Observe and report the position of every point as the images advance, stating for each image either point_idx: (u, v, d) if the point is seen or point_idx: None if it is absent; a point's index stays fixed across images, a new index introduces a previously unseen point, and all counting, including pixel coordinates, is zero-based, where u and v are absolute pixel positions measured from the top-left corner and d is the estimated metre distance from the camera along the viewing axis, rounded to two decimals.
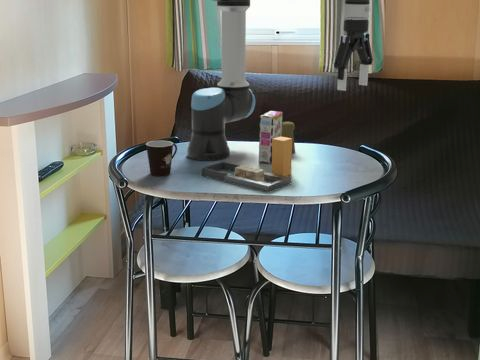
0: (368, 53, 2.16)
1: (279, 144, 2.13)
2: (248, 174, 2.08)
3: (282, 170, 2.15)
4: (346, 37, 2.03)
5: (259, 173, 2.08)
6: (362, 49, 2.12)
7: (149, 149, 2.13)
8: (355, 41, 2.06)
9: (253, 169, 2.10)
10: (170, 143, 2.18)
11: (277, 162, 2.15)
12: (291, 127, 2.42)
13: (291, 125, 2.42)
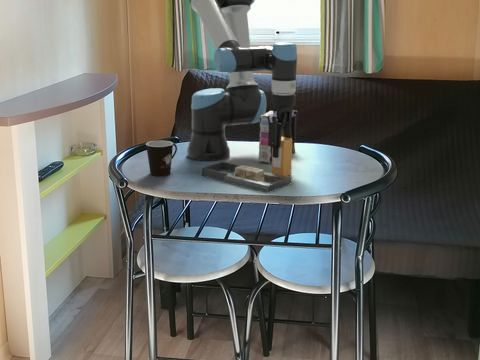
0: (293, 130, 2.17)
1: None
2: (248, 174, 2.08)
3: (282, 170, 2.15)
4: (272, 118, 2.07)
5: (259, 173, 2.08)
6: (288, 124, 2.14)
7: (149, 149, 2.13)
8: (282, 117, 2.10)
9: (253, 169, 2.10)
10: (170, 143, 2.18)
11: None
12: None
13: None
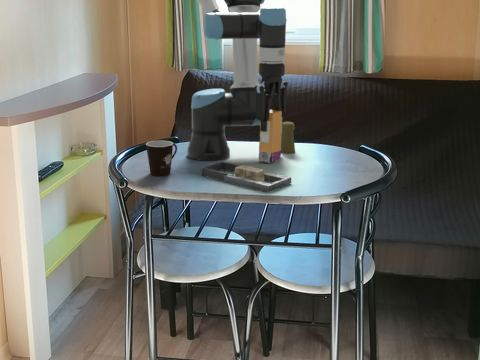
0: (282, 103, 2.03)
1: None
2: (248, 174, 2.08)
3: (271, 145, 2.00)
4: (260, 88, 1.93)
5: (259, 173, 2.08)
6: (277, 96, 1.99)
7: (149, 149, 2.13)
8: (271, 87, 1.96)
9: (253, 169, 2.10)
10: (170, 143, 2.18)
11: None
12: (291, 127, 2.42)
13: (291, 125, 2.42)
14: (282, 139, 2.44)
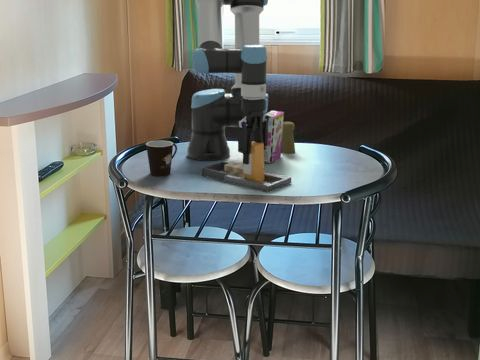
0: (264, 136, 2.10)
1: None
2: (236, 171, 2.11)
3: (254, 176, 2.07)
4: (241, 124, 2.00)
5: None
6: (258, 129, 2.07)
7: (149, 149, 2.13)
8: (252, 122, 2.03)
9: (241, 166, 2.13)
10: (170, 143, 2.18)
11: None
12: (291, 127, 2.42)
13: (291, 125, 2.42)
14: (282, 139, 2.44)
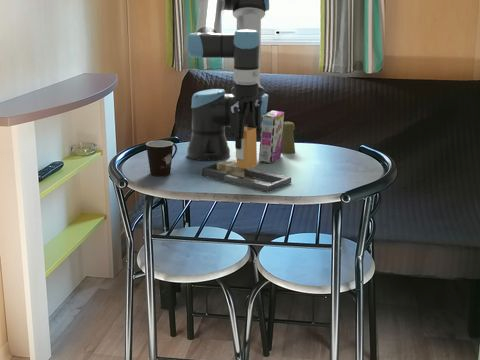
0: (257, 121, 2.11)
1: (243, 135, 2.06)
2: (229, 169, 2.13)
3: (247, 161, 2.08)
4: (234, 109, 2.01)
5: (239, 168, 2.12)
6: (251, 114, 2.07)
7: (149, 149, 2.13)
8: (245, 107, 2.04)
9: (233, 164, 2.15)
10: (170, 143, 2.18)
11: None
12: (291, 127, 2.42)
13: (291, 125, 2.42)
14: (282, 139, 2.44)
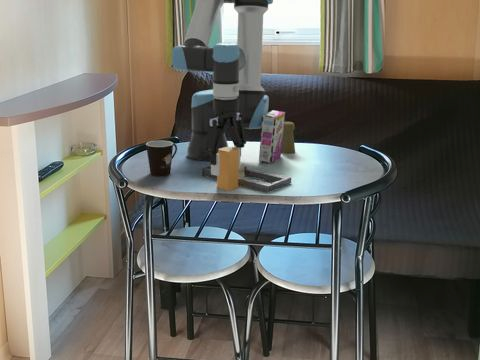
0: (241, 134, 2.05)
1: (224, 155, 1.99)
2: None
3: (227, 183, 2.01)
4: (212, 121, 1.93)
5: None
6: (233, 129, 2.01)
7: (149, 149, 2.13)
8: (224, 122, 1.96)
9: None
10: (170, 143, 2.18)
11: (222, 174, 2.02)
12: (291, 127, 2.42)
13: (291, 125, 2.42)
14: (282, 139, 2.44)
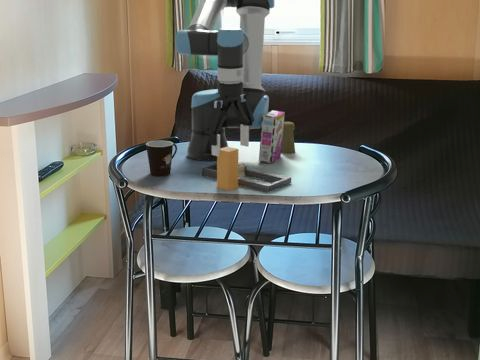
0: (248, 113, 2.08)
1: (224, 155, 1.99)
2: None
3: (227, 183, 2.01)
4: (217, 102, 1.95)
5: (239, 168, 2.12)
6: (239, 111, 2.04)
7: (149, 149, 2.13)
8: (229, 105, 1.99)
9: None
10: (170, 143, 2.18)
11: (222, 174, 2.02)
12: (291, 127, 2.42)
13: (291, 125, 2.42)
14: (282, 139, 2.44)
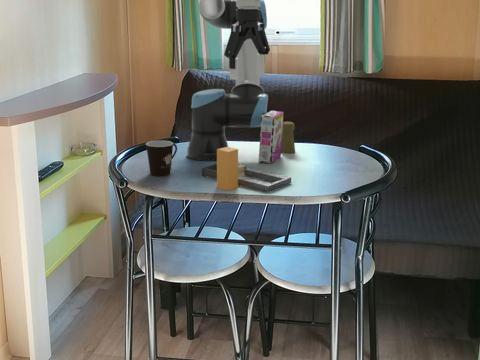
0: (264, 43, 2.17)
1: (224, 155, 1.99)
2: None
3: (227, 183, 2.01)
4: (236, 26, 2.04)
5: (239, 168, 2.12)
6: (256, 39, 2.13)
7: (149, 149, 2.13)
8: (247, 30, 2.08)
9: None
10: (170, 143, 2.18)
11: (221, 174, 2.02)
12: (291, 127, 2.42)
13: (291, 125, 2.42)
14: (282, 139, 2.44)
